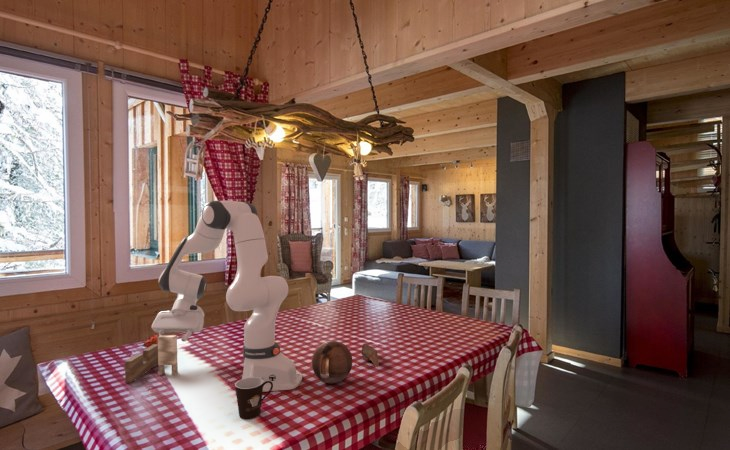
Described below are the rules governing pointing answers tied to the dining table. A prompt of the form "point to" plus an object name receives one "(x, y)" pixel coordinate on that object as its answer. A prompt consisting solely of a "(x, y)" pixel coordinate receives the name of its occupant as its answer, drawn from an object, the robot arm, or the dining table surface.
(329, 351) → the wooden sphere
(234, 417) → the dining table surface
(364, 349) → the bird sculpture
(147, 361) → the walnut slotted plate
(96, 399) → the dining table surface
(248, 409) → the coffee mug
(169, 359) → the ash slotted plate
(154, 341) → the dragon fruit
